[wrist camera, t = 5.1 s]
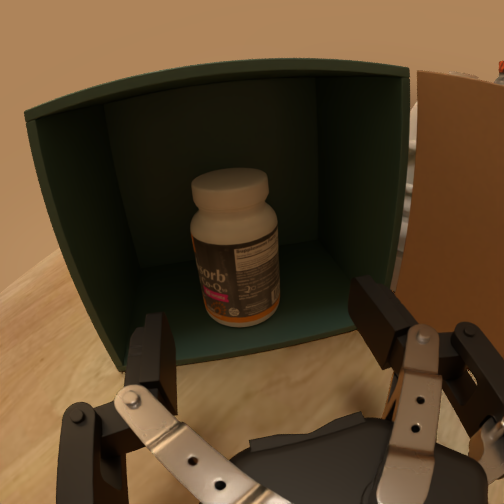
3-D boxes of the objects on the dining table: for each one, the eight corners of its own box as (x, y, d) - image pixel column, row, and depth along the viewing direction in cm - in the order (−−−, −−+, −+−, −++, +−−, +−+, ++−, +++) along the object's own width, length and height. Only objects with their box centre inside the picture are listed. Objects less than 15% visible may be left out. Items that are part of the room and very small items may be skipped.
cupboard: (382, 322, 21) (409, 67, 12) (118, 372, 19) (23, 111, 10) (321, 241, 32) (318, 71, 24) (137, 271, 30) (97, 99, 21)
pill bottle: (192, 303, 24) (166, 182, 19) (249, 274, 27) (238, 161, 22) (235, 343, 20) (213, 201, 15) (296, 304, 23) (295, 174, 18)
